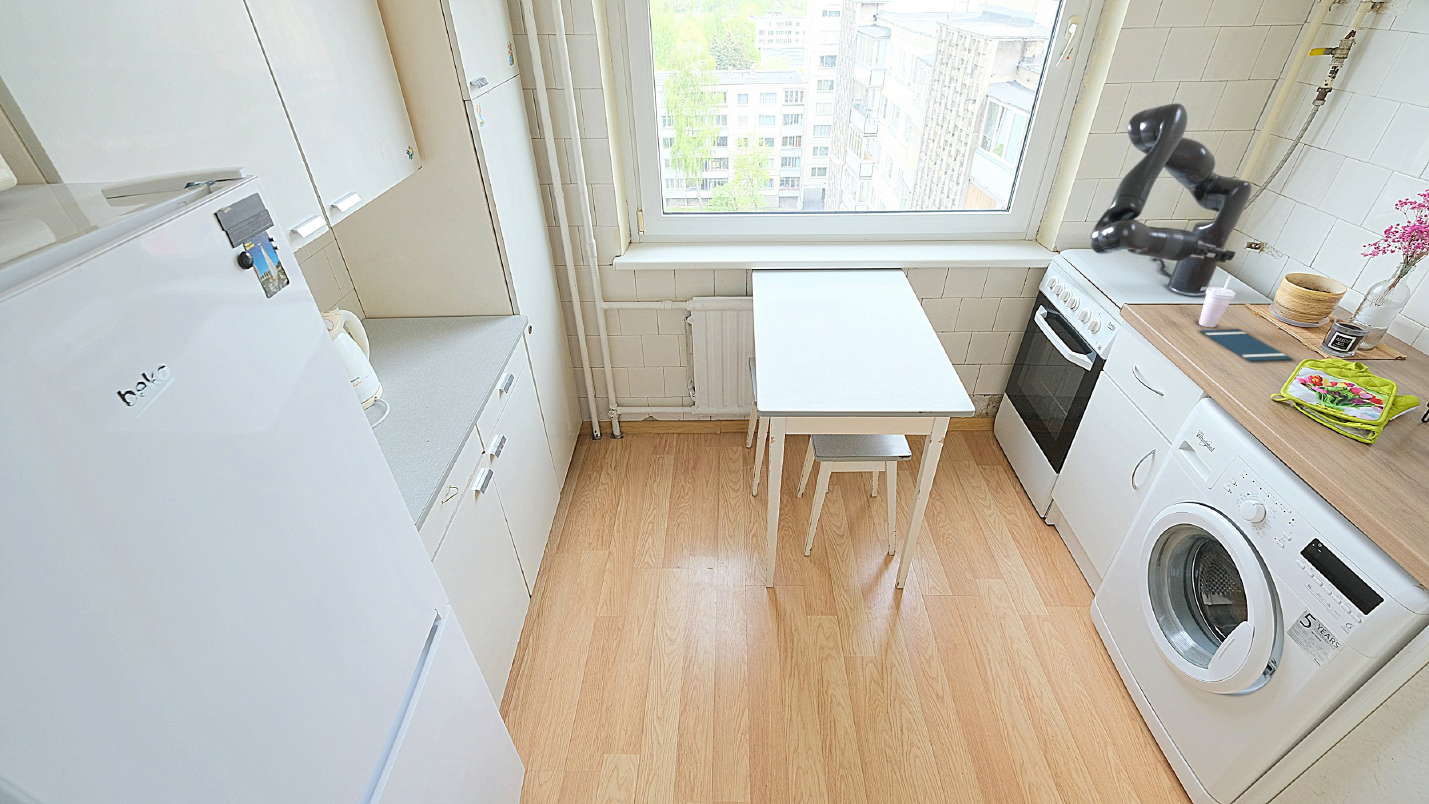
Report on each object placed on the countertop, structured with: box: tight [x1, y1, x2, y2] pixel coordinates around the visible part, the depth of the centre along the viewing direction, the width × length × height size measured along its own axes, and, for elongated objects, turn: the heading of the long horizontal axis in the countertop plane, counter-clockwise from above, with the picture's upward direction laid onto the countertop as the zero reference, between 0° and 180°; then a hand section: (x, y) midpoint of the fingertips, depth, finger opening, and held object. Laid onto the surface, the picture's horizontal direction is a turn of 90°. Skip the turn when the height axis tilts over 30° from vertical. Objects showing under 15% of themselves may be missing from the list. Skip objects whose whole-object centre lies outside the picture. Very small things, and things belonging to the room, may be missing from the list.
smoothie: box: [1198, 274, 1236, 328], centre depth 170 cm, size 6×6×14 cm
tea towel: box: [1200, 328, 1293, 362], centre depth 162 cm, size 17×10×1 cm, turn 4°
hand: (1217, 250), depth 162 cm, fingers open, 8 cm apart
